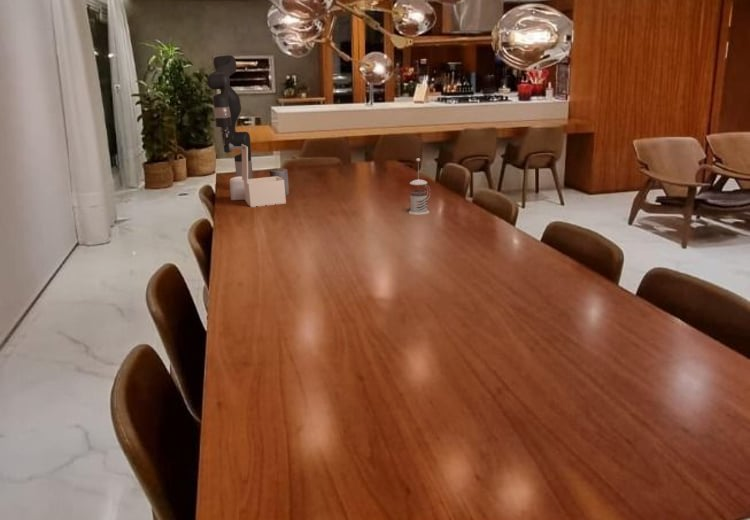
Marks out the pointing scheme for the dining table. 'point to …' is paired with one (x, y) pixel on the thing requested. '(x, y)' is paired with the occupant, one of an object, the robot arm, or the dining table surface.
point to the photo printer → (237, 188)
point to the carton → (265, 191)
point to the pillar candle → (282, 174)
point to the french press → (421, 199)
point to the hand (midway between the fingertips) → (227, 152)
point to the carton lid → (244, 160)
